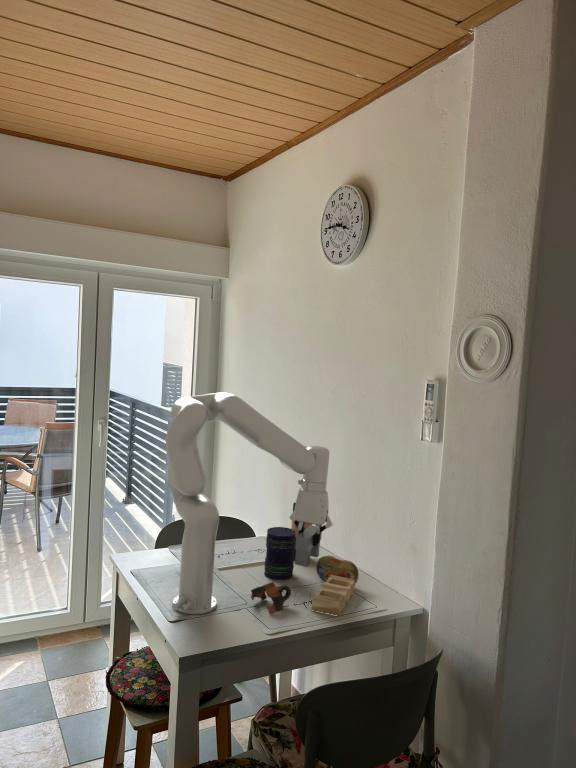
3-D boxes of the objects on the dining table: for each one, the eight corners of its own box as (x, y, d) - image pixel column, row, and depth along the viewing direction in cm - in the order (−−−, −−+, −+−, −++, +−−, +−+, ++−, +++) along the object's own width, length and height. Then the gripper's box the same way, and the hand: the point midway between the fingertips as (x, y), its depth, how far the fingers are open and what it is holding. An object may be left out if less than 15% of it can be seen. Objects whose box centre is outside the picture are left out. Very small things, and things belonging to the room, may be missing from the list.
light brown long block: (338, 617, 169) (339, 603, 169) (311, 611, 172) (312, 597, 171) (354, 592, 188) (355, 579, 187) (330, 587, 190) (331, 574, 190)
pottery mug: (261, 618, 166) (252, 589, 168) (253, 619, 174) (244, 591, 176) (299, 603, 170) (289, 575, 173) (289, 604, 179) (280, 578, 181)
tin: (315, 578, 197) (316, 553, 197) (320, 575, 200) (321, 551, 199) (354, 591, 188) (356, 565, 188) (358, 588, 191) (360, 563, 191)
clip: (306, 568, 177) (308, 538, 176) (293, 565, 178) (296, 536, 178) (319, 554, 190) (322, 527, 189) (307, 552, 191) (310, 525, 191)
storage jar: (282, 583, 191) (285, 538, 190) (257, 575, 196) (260, 531, 195) (298, 574, 199) (301, 531, 198) (275, 567, 204) (277, 525, 204)
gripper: (284, 483, 182) (279, 541, 183) (336, 492, 176) (331, 552, 177) (293, 479, 189) (287, 535, 190) (343, 488, 184) (337, 545, 184)
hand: (308, 543), depth 184 cm, fingers closed on clip, 4 cm apart
